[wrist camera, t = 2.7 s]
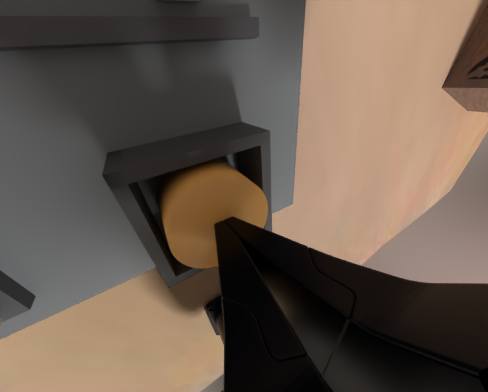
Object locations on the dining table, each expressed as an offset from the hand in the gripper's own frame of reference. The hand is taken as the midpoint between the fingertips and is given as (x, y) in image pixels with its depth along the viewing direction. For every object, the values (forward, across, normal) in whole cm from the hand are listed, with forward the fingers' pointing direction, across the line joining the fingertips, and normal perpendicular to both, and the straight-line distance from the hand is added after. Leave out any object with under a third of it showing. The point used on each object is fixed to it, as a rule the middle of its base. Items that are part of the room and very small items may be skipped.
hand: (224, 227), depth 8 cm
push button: (+3, 0, 0) cm, 3 cm away
